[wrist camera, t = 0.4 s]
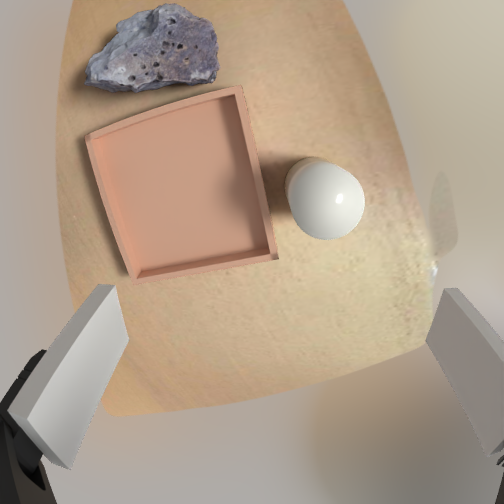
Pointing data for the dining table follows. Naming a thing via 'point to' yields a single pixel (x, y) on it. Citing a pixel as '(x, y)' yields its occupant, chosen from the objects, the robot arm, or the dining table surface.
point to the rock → (156, 52)
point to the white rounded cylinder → (324, 198)
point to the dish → (184, 188)
